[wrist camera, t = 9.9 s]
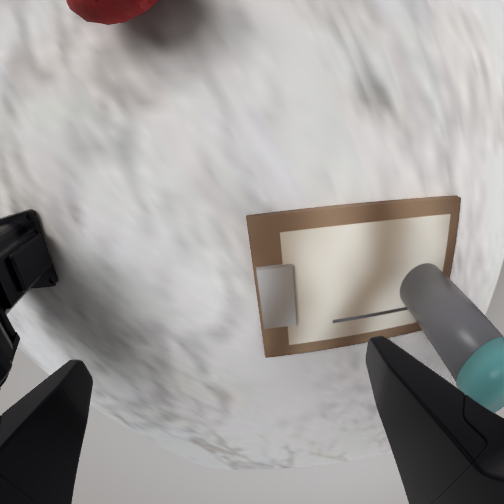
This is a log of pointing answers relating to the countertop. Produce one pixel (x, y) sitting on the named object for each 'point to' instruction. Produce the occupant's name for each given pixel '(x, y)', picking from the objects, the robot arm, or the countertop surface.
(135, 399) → the countertop surface
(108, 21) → the red rounded piece
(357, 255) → the clipboard
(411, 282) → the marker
